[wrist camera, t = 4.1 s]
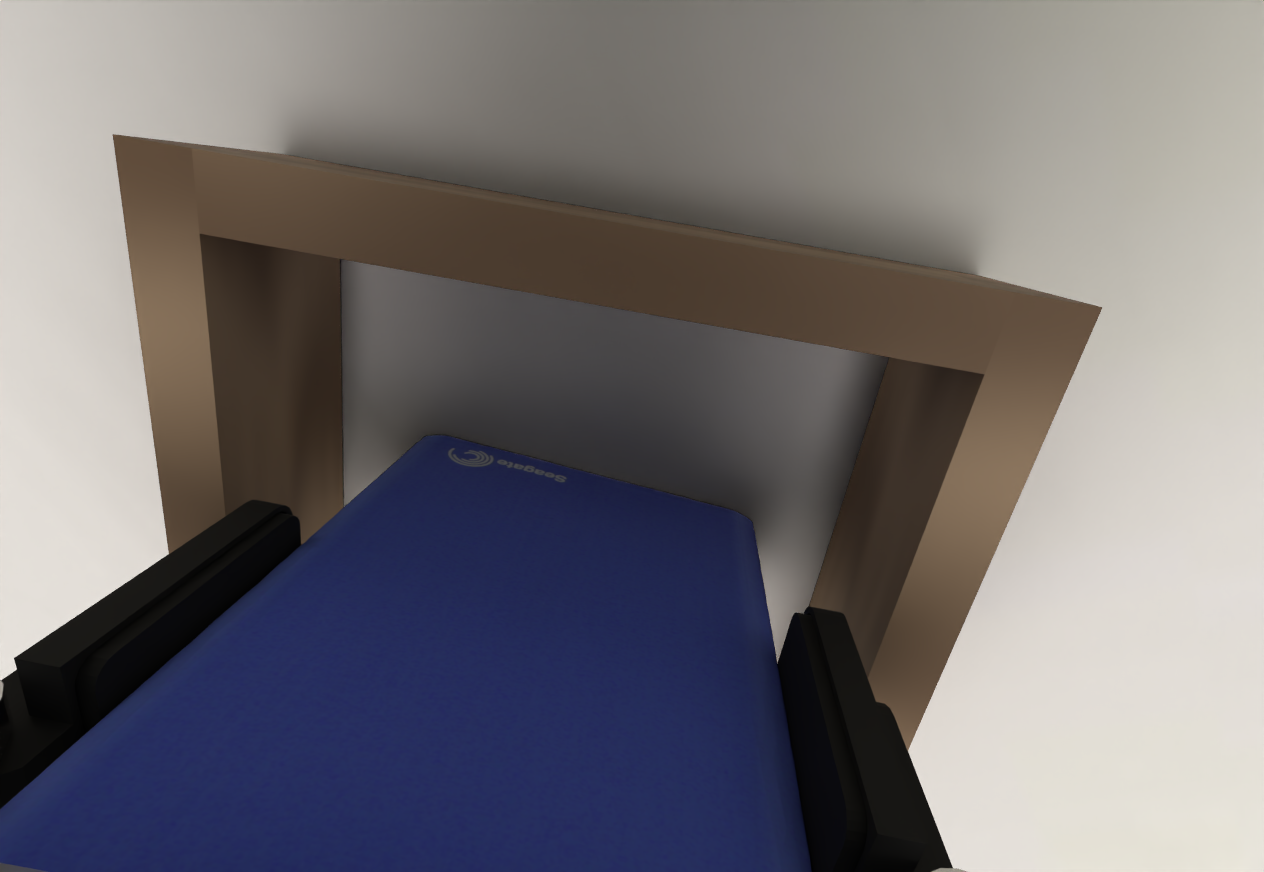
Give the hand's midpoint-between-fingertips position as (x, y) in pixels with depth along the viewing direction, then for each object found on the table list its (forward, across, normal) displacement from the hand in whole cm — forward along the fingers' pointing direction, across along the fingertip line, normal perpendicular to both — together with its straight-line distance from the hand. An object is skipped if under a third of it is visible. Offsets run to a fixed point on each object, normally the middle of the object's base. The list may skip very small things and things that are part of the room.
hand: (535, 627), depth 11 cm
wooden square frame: (+5, 0, 0) cm, 5 cm away
